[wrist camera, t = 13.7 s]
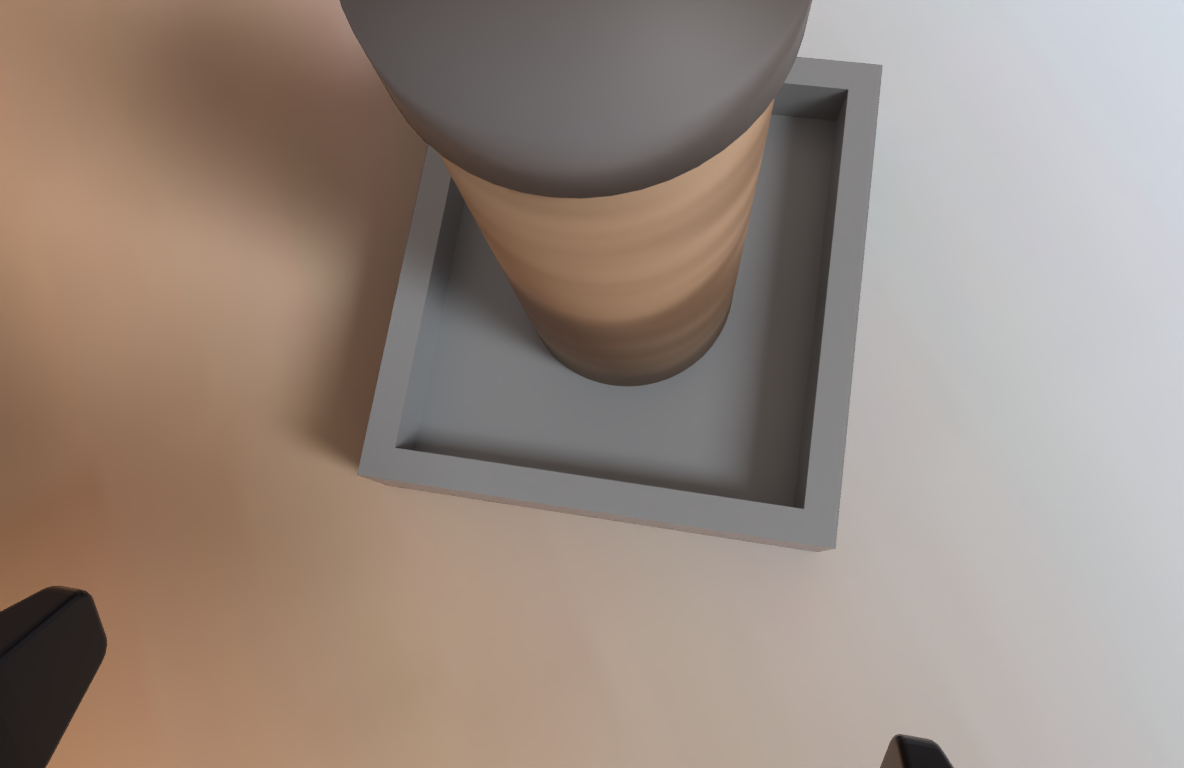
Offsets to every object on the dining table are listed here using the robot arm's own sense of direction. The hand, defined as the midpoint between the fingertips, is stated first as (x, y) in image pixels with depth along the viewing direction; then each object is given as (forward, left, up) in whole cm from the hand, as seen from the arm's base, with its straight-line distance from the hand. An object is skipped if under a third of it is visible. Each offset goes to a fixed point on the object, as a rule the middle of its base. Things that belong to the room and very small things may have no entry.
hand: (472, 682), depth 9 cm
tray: (+7, +6, -13) cm, 16 cm away
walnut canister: (+7, +6, -12) cm, 15 cm away
